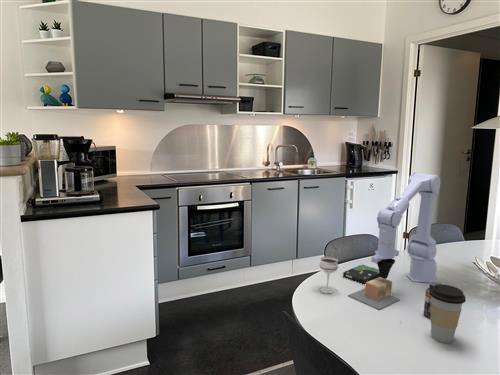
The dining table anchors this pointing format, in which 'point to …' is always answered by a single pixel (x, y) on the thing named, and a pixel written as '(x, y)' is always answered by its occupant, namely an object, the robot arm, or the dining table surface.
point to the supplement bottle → (428, 300)
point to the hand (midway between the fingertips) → (383, 277)
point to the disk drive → (362, 274)
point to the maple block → (378, 288)
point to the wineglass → (328, 270)
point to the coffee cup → (445, 311)
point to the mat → (371, 302)
